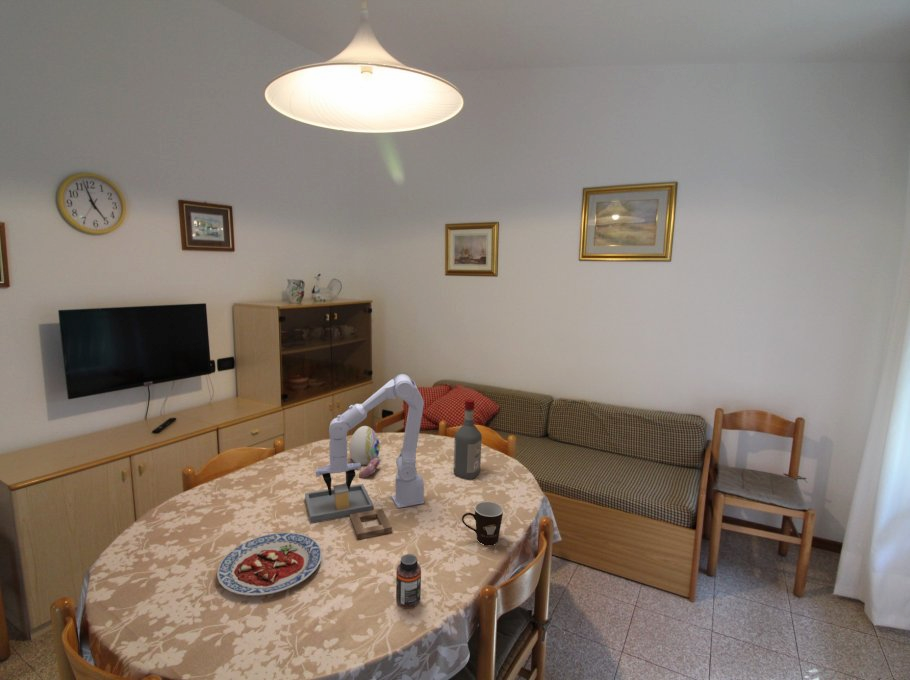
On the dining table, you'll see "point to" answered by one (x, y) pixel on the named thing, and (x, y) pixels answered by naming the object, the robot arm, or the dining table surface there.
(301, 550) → the ceramic plate
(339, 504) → the block
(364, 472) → the video game controller
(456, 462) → the liquor
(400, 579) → the supplement bottle
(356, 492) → the parts tray
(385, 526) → the socket
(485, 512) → the coffee mug
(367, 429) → the decorative egg
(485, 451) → the dining table surface
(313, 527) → the dining table surface
